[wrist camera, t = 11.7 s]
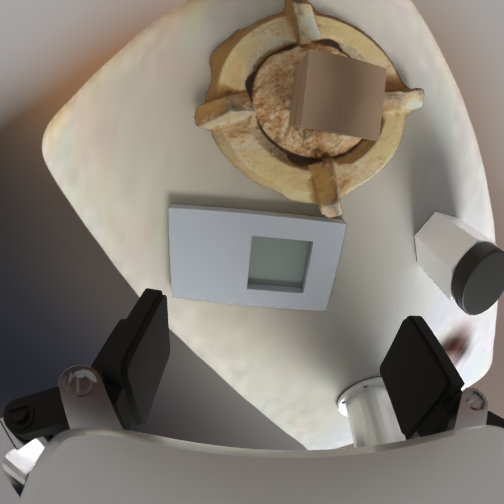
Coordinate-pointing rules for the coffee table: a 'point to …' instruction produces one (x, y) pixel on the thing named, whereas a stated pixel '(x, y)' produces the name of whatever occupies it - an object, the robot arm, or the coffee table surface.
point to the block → (338, 95)
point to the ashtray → (279, 104)
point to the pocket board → (253, 256)
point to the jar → (461, 262)
